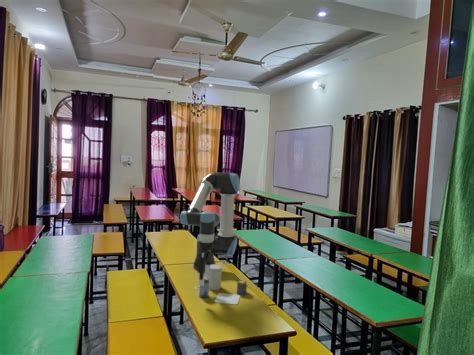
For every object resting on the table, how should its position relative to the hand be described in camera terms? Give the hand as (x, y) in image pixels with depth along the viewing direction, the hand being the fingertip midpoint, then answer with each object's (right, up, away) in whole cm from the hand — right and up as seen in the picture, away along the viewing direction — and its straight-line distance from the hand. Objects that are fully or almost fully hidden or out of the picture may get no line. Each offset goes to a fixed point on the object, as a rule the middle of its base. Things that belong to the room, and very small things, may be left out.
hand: (204, 280), depth 180 cm
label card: (-4, -8, +11) cm, 14 cm away
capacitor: (0, -9, +1) cm, 9 cm away
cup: (+4, -8, +14) cm, 17 cm away
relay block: (+20, -9, +8) cm, 23 cm away
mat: (+12, -9, -1) cm, 16 cm away
